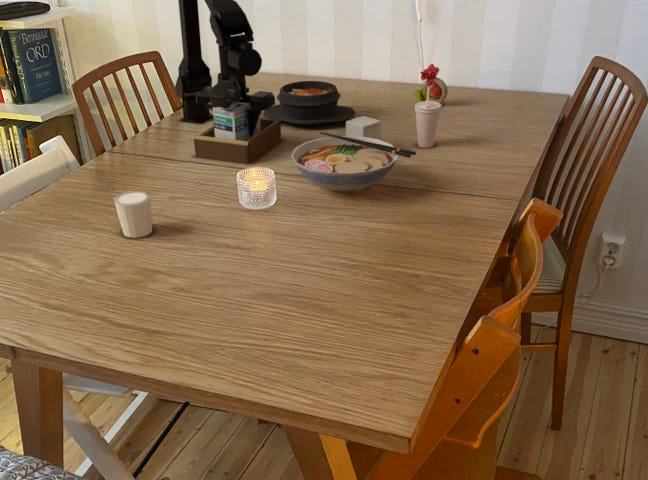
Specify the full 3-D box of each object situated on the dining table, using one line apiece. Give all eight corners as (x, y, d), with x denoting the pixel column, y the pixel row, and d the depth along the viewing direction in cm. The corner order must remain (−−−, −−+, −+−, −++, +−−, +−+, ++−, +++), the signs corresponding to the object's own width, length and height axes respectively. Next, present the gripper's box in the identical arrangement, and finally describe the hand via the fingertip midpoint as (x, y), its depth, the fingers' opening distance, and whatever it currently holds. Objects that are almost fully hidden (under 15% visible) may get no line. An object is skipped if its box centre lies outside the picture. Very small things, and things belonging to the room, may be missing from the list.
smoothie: (409, 147, 179) (412, 88, 170) (416, 139, 183) (419, 81, 175) (435, 150, 176) (439, 90, 168) (441, 142, 181) (446, 83, 173)
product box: (362, 157, 174) (363, 126, 170) (344, 151, 178) (344, 120, 174) (380, 150, 177) (381, 120, 173) (362, 144, 181) (363, 115, 177)
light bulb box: (237, 157, 177) (234, 112, 171) (215, 152, 180) (211, 107, 174) (262, 143, 184) (260, 100, 178) (241, 139, 187) (238, 96, 181)
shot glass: (125, 242, 141) (119, 207, 137) (116, 228, 146) (109, 195, 142) (160, 233, 143) (154, 200, 139) (149, 221, 148) (143, 188, 144)
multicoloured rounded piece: (440, 110, 209) (413, 94, 210) (459, 74, 202) (430, 58, 202) (434, 116, 204) (406, 100, 205) (453, 80, 197) (424, 63, 198)
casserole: (360, 111, 203) (361, 80, 199) (348, 133, 189) (348, 99, 184) (273, 107, 209) (272, 77, 204) (255, 128, 194) (252, 96, 189)
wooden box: (195, 156, 178) (193, 136, 175) (230, 134, 191) (228, 114, 188) (249, 163, 173) (247, 142, 170) (281, 140, 186) (280, 120, 183)
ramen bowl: (267, 188, 161) (265, 151, 156) (335, 159, 174) (335, 124, 169) (355, 218, 146) (356, 179, 142) (422, 184, 160) (425, 147, 155)
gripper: (179, 72, 168) (188, 140, 177) (252, 78, 162) (256, 148, 171) (204, 61, 177) (211, 126, 185) (274, 66, 170) (277, 133, 179)
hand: (238, 133), depth 180 cm, fingers closed on light bulb box, 7 cm apart
